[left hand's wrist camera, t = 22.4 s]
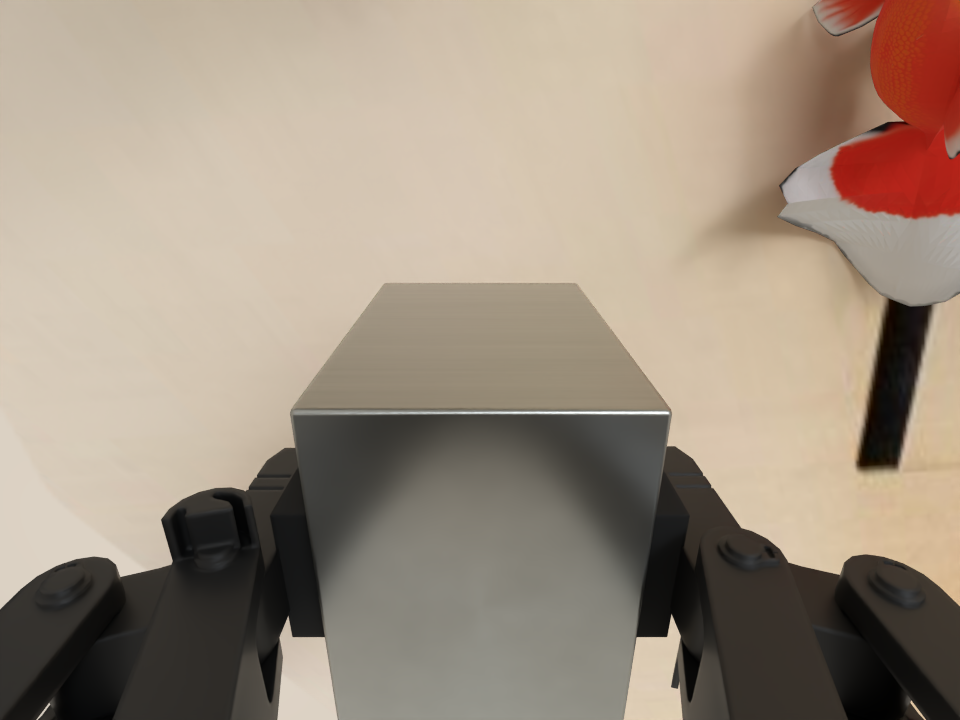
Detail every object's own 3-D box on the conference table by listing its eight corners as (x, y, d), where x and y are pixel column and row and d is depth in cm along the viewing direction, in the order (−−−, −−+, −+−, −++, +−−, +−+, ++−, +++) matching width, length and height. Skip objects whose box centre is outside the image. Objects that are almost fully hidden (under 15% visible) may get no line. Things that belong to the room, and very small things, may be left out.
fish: (1260, -175, 16) (1604, -162, 10) (945, 248, 27) (1005, 384, 21) (869, -162, 19) (931, -144, 12) (731, 218, 30) (726, 330, 24)
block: (561, 499, 17) (620, 748, 10) (399, 499, 17) (340, 748, 10) (577, 282, 14) (674, 411, 7) (383, 282, 14) (286, 410, 7)
